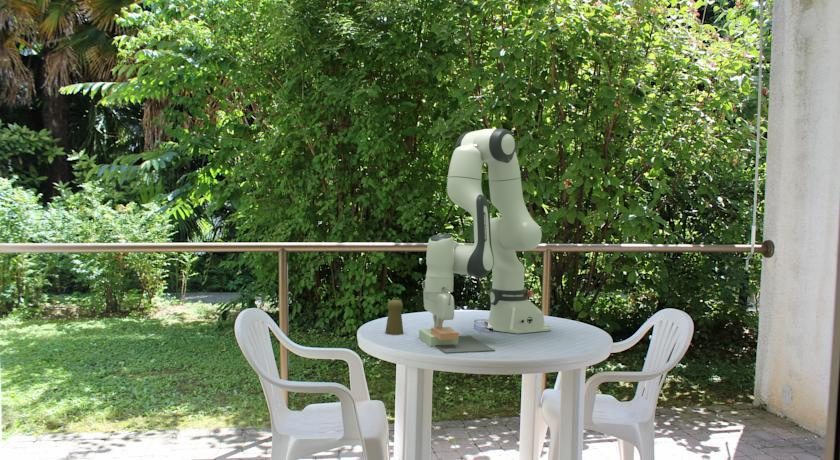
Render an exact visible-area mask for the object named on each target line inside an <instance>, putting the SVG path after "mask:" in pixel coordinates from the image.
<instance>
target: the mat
mask: <svg viewBox="0 0 840 460" xmlns="http://www.w3.org/2000/svg"><path fill="white" fill-rule="evenodd" d="M435 348H437V349H438V350H439V351H441V352H442V353H444V354H446V355H447V354H461V353H462V354H463V353H467V354H468V353H483V352H485V353H486V352H496V349H494V347H491V346H489V345H488V344H485V343H484V342H482V341H480V340H478V339H477V338H475V337H473V336H472V335H459V339H458V344H451V345H435Z"/></svg>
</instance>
